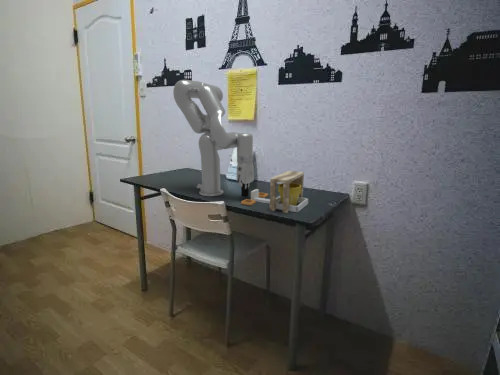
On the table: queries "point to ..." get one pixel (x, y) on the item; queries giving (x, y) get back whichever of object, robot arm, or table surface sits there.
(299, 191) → the plant pot
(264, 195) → the pit tray near left
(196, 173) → the table surface
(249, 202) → the pit tray near right
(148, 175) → the table surface
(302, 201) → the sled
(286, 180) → the tunnel
